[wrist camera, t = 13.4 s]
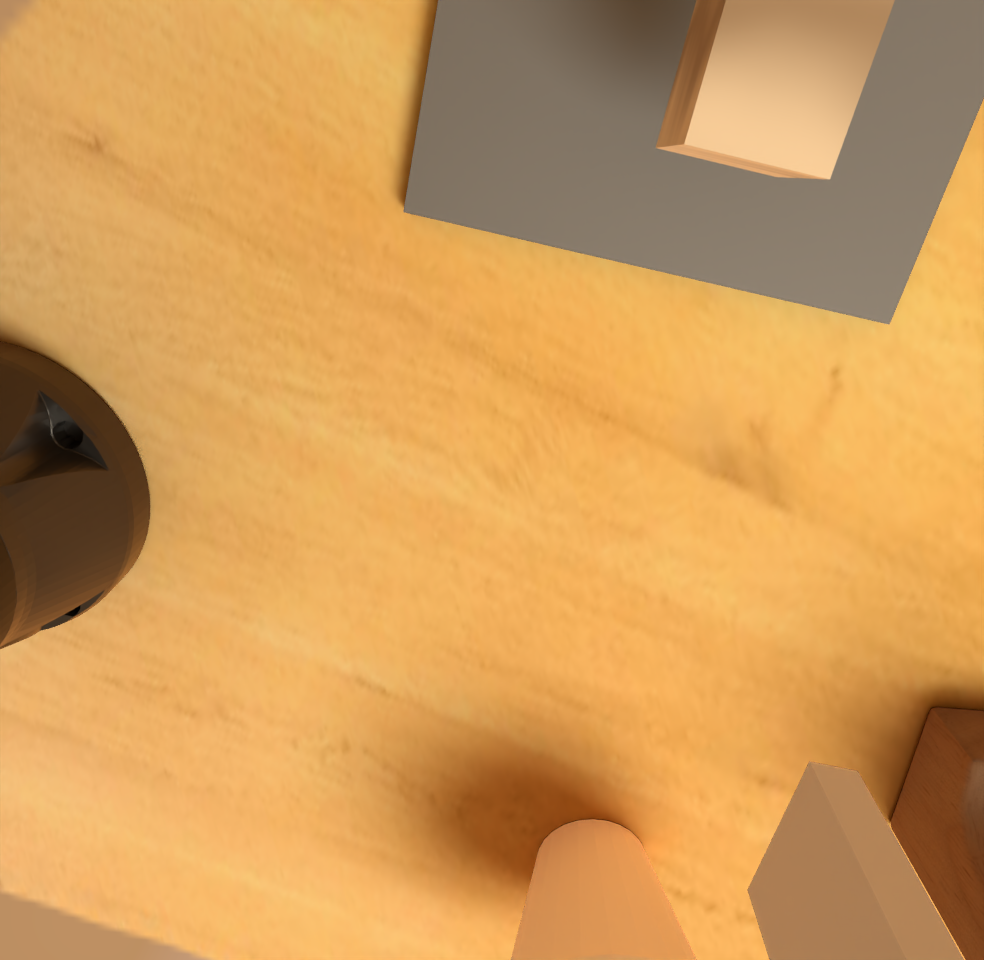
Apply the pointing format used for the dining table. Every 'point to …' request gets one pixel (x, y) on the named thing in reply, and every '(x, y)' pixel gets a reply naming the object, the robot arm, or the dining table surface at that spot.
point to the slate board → (680, 178)
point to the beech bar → (772, 82)
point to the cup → (597, 900)
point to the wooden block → (948, 821)
